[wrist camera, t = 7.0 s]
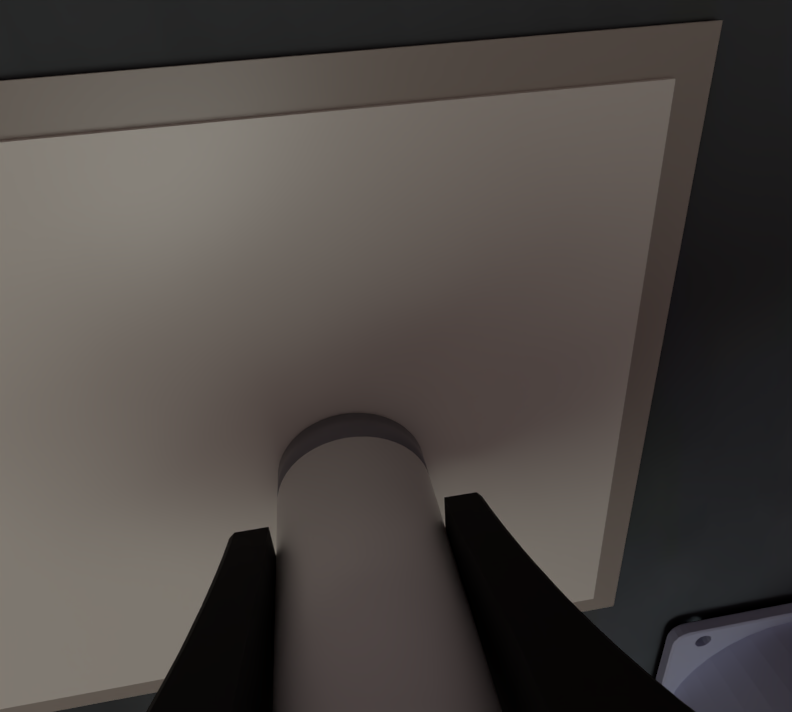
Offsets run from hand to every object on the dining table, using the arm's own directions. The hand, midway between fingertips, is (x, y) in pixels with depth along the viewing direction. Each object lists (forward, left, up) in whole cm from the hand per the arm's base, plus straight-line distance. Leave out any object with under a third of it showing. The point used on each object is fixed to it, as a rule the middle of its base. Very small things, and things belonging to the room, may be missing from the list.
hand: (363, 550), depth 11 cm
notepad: (+3, -1, -3) cm, 4 cm away
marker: (0, 0, -2) cm, 2 cm away
